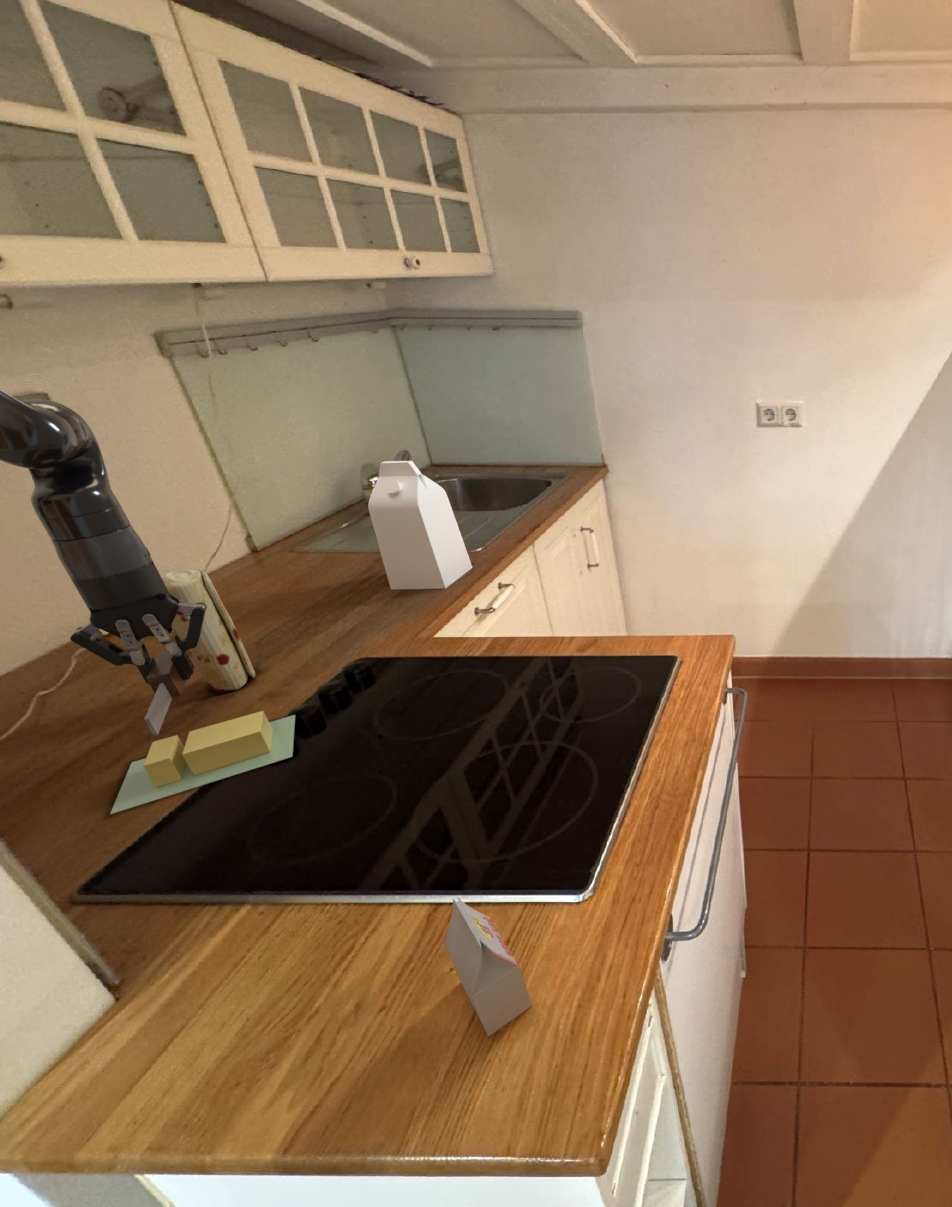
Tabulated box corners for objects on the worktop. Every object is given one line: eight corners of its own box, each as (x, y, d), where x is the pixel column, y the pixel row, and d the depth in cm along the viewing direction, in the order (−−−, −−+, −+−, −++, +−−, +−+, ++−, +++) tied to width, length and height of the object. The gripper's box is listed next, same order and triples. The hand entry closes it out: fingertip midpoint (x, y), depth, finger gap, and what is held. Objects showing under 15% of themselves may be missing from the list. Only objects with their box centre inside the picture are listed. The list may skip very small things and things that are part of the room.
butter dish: (113, 820, 80) (109, 814, 79) (135, 768, 89) (131, 762, 88) (295, 762, 89) (292, 756, 88) (297, 720, 98) (295, 714, 97)
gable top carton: (490, 1042, 55) (458, 963, 50) (463, 988, 59) (430, 910, 55) (534, 1011, 57) (507, 932, 52) (504, 961, 61) (476, 884, 57)
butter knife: (143, 739, 79) (129, 714, 78) (171, 673, 94) (159, 651, 92) (167, 732, 80) (153, 708, 79) (191, 668, 95) (179, 646, 93)
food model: (206, 680, 109) (148, 569, 100) (257, 666, 113) (205, 557, 104) (208, 705, 102) (146, 588, 93) (262, 688, 106) (207, 574, 97)
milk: (472, 567, 151) (440, 454, 139) (445, 588, 140) (408, 468, 129) (421, 568, 151) (385, 456, 140) (390, 589, 141) (348, 469, 129)
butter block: (194, 775, 85) (181, 754, 84) (200, 752, 90) (188, 731, 88) (270, 752, 89) (260, 731, 88) (273, 730, 94) (263, 710, 92)
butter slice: (156, 787, 83) (143, 765, 82) (164, 762, 88) (152, 741, 86) (182, 779, 85) (169, 757, 83) (189, 755, 89) (177, 734, 88)
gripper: (21, 589, 77) (98, 711, 84) (177, 560, 84) (235, 676, 91) (42, 569, 82) (112, 686, 90) (186, 544, 89) (240, 654, 97)
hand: (174, 680), depth 91 cm, fingers closed on butter knife, 2 cm apart
